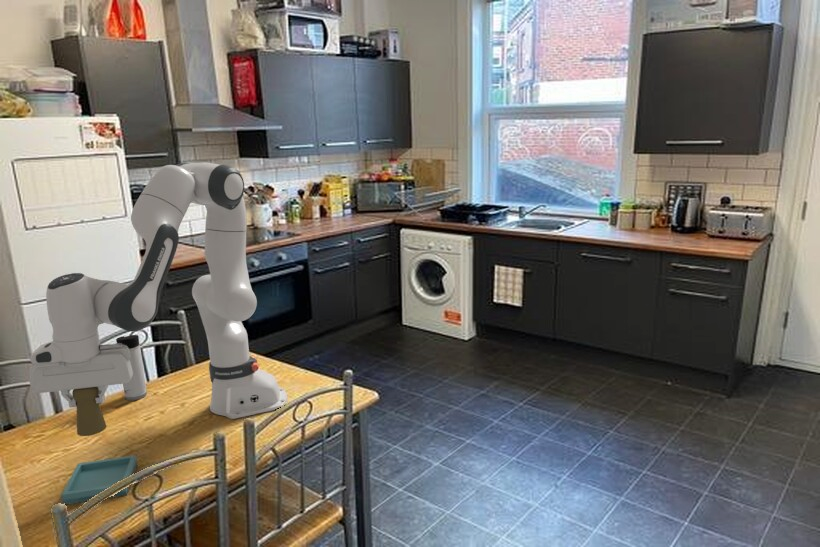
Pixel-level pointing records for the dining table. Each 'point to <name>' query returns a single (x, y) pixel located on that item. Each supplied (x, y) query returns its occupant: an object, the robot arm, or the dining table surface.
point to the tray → (97, 478)
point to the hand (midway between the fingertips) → (87, 404)
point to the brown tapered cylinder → (88, 412)
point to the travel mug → (134, 369)
